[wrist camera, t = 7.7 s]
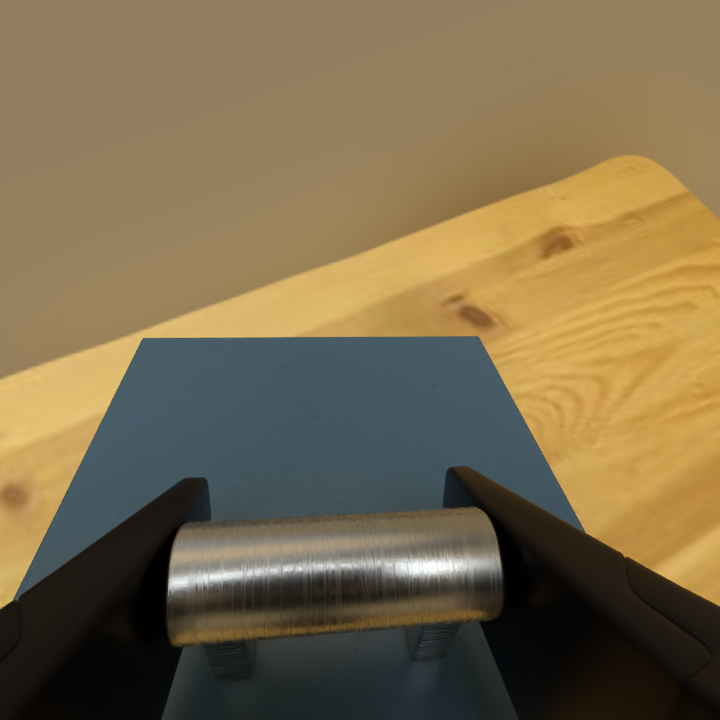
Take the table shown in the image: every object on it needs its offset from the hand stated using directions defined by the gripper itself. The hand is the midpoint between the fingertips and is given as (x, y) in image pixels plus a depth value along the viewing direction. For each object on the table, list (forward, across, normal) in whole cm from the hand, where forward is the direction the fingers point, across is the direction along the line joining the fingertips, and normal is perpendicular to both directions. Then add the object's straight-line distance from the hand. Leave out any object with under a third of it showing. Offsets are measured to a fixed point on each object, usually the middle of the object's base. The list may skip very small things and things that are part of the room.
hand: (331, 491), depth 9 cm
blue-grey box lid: (+3, 0, +2) cm, 4 cm away
